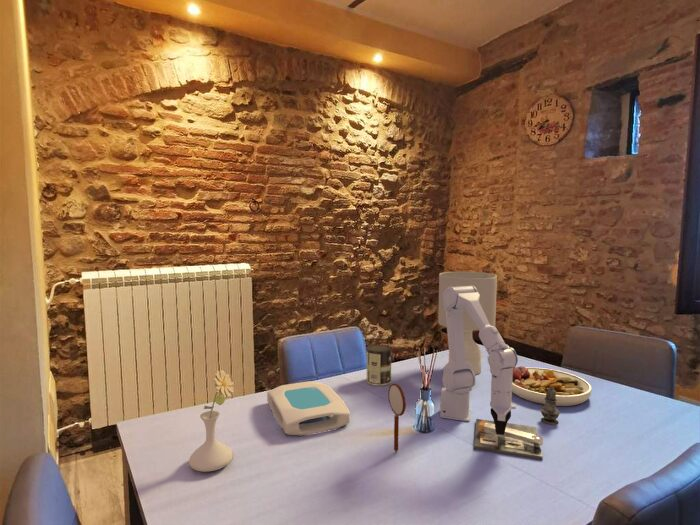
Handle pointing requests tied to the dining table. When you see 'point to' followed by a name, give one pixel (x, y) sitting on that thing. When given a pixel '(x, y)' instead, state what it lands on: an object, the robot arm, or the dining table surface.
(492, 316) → the lamp
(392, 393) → the magnifying glass
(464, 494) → the dining table surface
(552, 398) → the grey tall carved piece
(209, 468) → the flower in vase
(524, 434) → the swing arm
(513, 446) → the label panel
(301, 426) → the document scanner
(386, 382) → the coffee can
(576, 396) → the bowl
